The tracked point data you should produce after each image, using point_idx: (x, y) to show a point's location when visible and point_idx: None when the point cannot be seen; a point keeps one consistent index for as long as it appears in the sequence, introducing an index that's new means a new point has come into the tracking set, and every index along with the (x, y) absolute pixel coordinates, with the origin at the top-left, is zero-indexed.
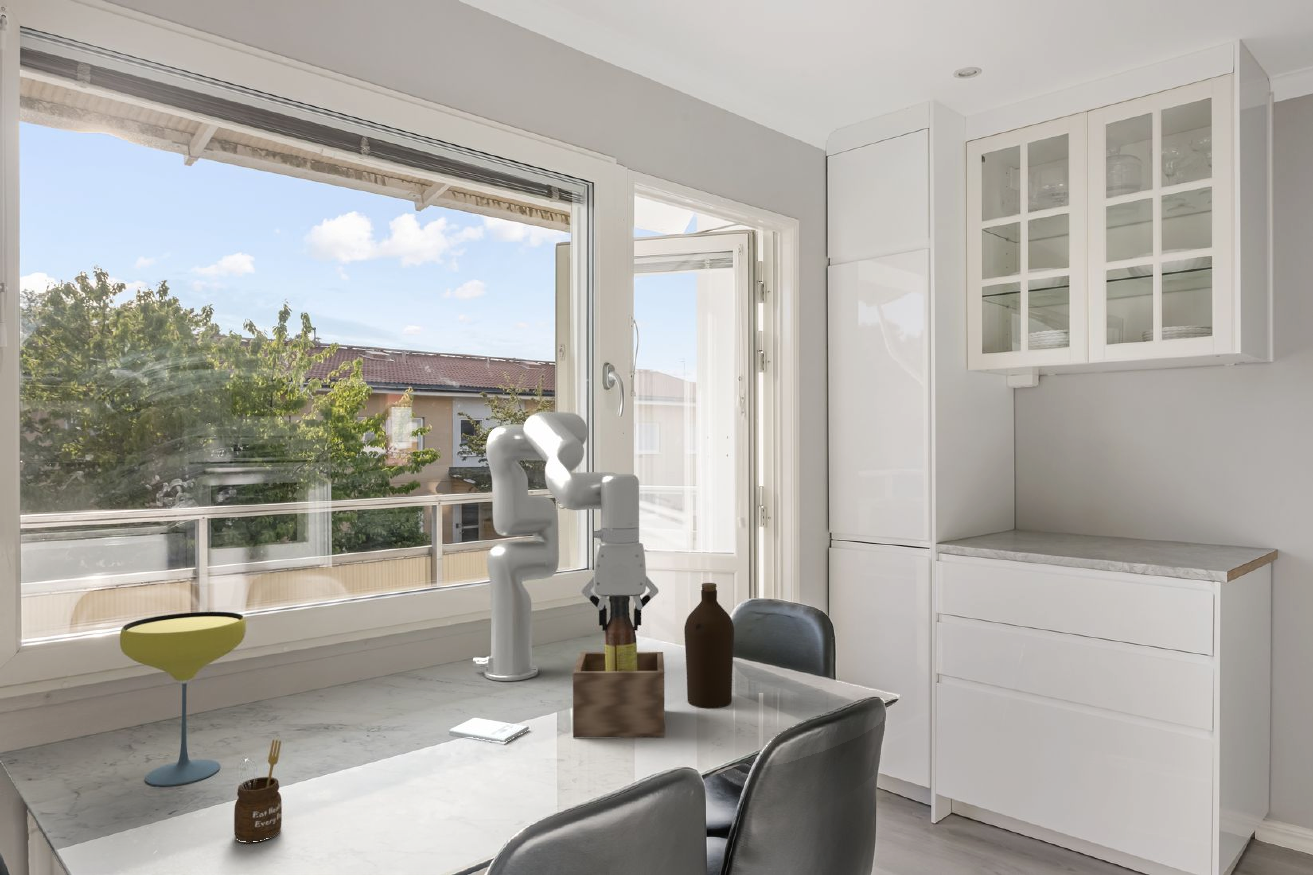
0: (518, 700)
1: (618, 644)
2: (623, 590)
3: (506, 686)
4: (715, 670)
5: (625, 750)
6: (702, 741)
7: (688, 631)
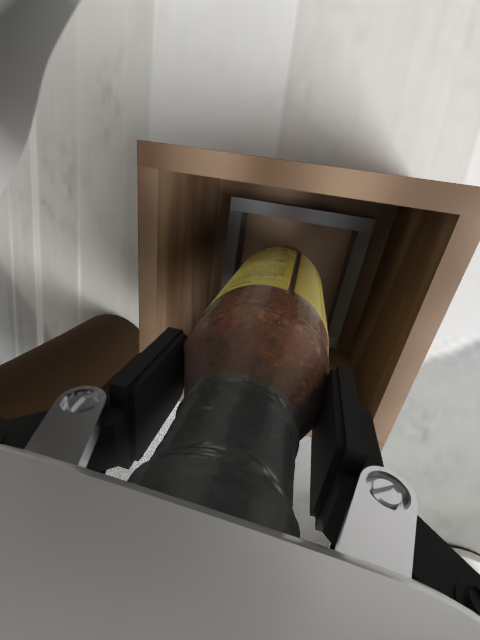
0: (473, 452)
1: (278, 291)
2: (97, 549)
3: (473, 528)
4: (56, 342)
5: (310, 72)
6: (137, 120)
7: None
